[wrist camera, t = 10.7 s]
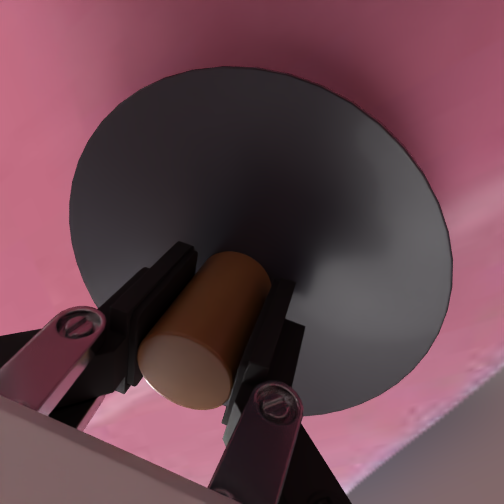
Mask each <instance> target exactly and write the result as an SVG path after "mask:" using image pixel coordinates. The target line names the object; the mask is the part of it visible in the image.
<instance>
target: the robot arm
mask: <svg viewBox="0 0 504 504" xmlns="http://www.w3.org/2000/svg"><path fill="white" fill-rule="evenodd" d="M197 258H198V252H197V251H194V246H192V245H190V244H187V243H184V242H181V241H178V242H177V243H175V244H174V245H173V246H172V247H171V248H170V249H169V250H168V251H167V252H166V253H165V254H164V255H163V256H162V257H161V258H160V259H159V260H158V261H157V262H156V263H155V264H154V265H153V266H151V267H150V268H147V267H143V268H142V269H140V270H139V271H138V272H137V273H136V274H135V275H134V276H133V277H132V278H131V279H130V280H128V281H127V282H126V283H125V284H124V285H123V286H122V287H121V288H120V289H119V290H118V291H117V292H115V293H114V294H113V295H112V296H111V297H110V298H109V299H108V300H107V301H106V302H105V303H104V304H102V305H101V306H100V307H99V308H98V309H96V308H93V307H88V306H77V307H72V308H68V309H66V310H64V311H61V312H60V313H59V314H57V315H56V316H55V317H54V318H53V319H52V320H51V321H49V322H48V323H47V324H46V325H45V326H44V327H43V328H42V329H37V330H32V331H26V332H20V333H15V334H9V335H3V336H0V504H352V503H351V502H350V500H349V499H348V497H347V495H346V494H345V492H344V491H343V489H342V488H341V486H340V484H339V483H338V481H337V480H336V478H335V476H334V475H333V473H332V472H331V470H330V469H329V467H328V465H327V464H326V462H325V461H324V459H323V457H322V456H321V454H320V453H319V451H318V449H317V448H316V446H315V445H314V443H313V442H312V440H311V438H310V437H309V435H308V434H307V432H306V430H305V429H304V427H303V426H302V424H301V421H302V418H303V411H304V408H303V404H302V400H301V398H300V397H299V395H298V393H297V392H296V391H295V390H294V389H293V388H292V384H293V380H294V376H295V371H296V367H297V362H298V358H299V354H300V349H301V345H302V340H303V336H304V332H305V326H304V325H301V324H298V323H296V322H293V321H290V320H288V319H285V317H286V314H287V311H288V308H289V304H290V301H291V298H292V295H293V292H294V289H295V285H296V282H294V281H291V280H288V279H285V278H281V280H280V281H279V280H276V279H274V281H273V284H272V286H271V288H270V291H269V293H268V295H267V298H266V300H265V303H264V305H263V307H262V310H261V312H260V314H259V317H258V319H257V322H256V324H255V326H254V329H253V331H252V333H251V336H250V338H249V341H248V343H247V345H246V348H245V350H244V353H243V355H242V358H241V361H240V364H239V367H238V370H237V374H236V377H235V380H234V383H233V387H232V390H231V393H230V397H229V400H228V403H227V406H226V410H225V413H224V416H223V420H222V424H225V425H227V427H226V430H225V433H224V436H223V441H224V443H225V446H226V449H225V451H224V453H223V455H222V457H221V459H220V462H219V464H218V466H217V468H216V470H215V472H214V475H213V477H212V479H211V481H210V483H209V485H208V487H207V488H206V487H204V486H202V485H199V484H197V483H195V482H193V481H191V480H188V479H186V478H184V477H182V476H180V475H177V474H175V473H173V472H171V471H169V470H166V469H164V468H162V467H160V466H158V465H155V464H153V463H151V462H149V461H147V460H144V459H142V458H140V457H138V456H135V455H133V454H131V453H129V452H127V451H124V450H122V449H120V448H118V447H115V446H113V445H111V444H109V443H106V442H104V441H102V440H100V439H98V438H95V437H93V436H91V435H89V434H86V433H84V432H83V431H84V429H85V427H86V426H87V424H88V423H89V421H90V420H91V418H92V417H93V415H94V414H95V412H96V411H97V409H98V408H99V406H100V405H101V403H102V402H103V400H104V398H105V395H106V394H109V393H113V392H114V391H118V392H120V393H122V394H125V393H126V391H127V390H128V389H129V387H130V386H131V385H132V386H134V387H135V386H136V385H137V384H138V383H139V382H140V380H141V379H142V377H143V375H142V373H141V371H140V369H139V366H138V361H137V352H138V348H139V345H140V343H141V342H142V340H143V339H144V338H145V336H146V335H147V334H148V333H149V331H150V330H151V329H152V328H153V326H154V325H155V324H156V323H157V321H158V320H159V319H160V318H161V316H162V315H163V314H164V313H165V311H166V310H167V309H168V308H169V306H170V305H171V304H172V303H173V301H174V300H175V299H176V298H177V296H178V295H179V294H180V293H181V291H182V290H183V289H184V288H185V286H186V285H187V284H188V283H189V281H190V280H191V279H192V278H193V276H194V275H195V269H196V263H197Z"/></svg>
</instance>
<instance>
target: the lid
mask: <svg viewBox="0 0 504 504" xmlns="http://www.w3.org/2000/svg"><path fill="white" fill-rule="evenodd" d="M69 224H70V232H71V240H72V246H73V250H74V254H75V258H76V262H77V265H78V267H79V270H80V273H81V276H82V278H83V281H84V283H85V285H86V287H87V289H88V291H89V293H90V295H91V297H92V299H93V301H94V303H95V304H96V306H97V307H98V308H99V307H100V306H101V305H102V304H104V303H105V302H106V301H107V300H108V299H109V298H110V297H111V296H112V295H113V294H114V293H115V292H117V291H118V290H119V289H120V288H121V287H122V286H123V285H124V284H125V283H126V282H127V281H128V280H130V279H131V278H132V277H133V276H134V275H135V274H136V273H137V272H138V271H139V270H140V269H142V268H143V267H147V268H150V267H151V266H153V265H154V264H155V263H156V262H157V261H158V260H159V259H160V258H161V257H162V256H163V255H164V254H165V253H166V252H167V251H168V250H169V249H170V248H171V247H172V246H173V245H174V244H175V243H177V242H178V241H181V242H184V243H187V244H190V245H192V246H194V251H197V252H198V258H197V263H196V269H195V275H194V276H193V278H192V279H191V280H190V281H189V283H188V284H187V285H186V286H185V288H184V289H183V290H182V291H181V293H180V294H179V295H178V296H177V298H176V299H175V300H174V301H173V303H172V304H171V305H170V306H169V308H168V309H167V310H166V311H165V313H164V314H163V315H162V316H161V318H160V319H159V320H158V321H157V323H156V324H155V325H154V326H153V328H152V329H151V330H150V331H149V333H148V334H147V335H146V336H145V338H144V339H143V340H142V342H141V343H140V345H139V348H138V352H137V361H138V366H139V369H140V371H141V373H142V375H143V376H144V378H145V379H146V381H147V382H148V383H149V384H150V386H151V387H152V388H153V389H154V390H156V391H157V392H158V393H159V394H160V395H162V396H163V397H165V398H166V399H168V400H170V401H171V402H173V403H176V404H178V405H180V406H183V407H187V408H190V409H197V410H208V409H214V408H217V407H219V406H221V405H224V406H227V403H228V400H229V397H230V393H231V390H232V387H233V383H234V380H235V377H236V374H237V370H238V367H239V364H240V361H241V358H242V355H243V353H244V350H245V348H246V345H247V343H248V341H249V338H250V336H251V333H252V331H253V329H254V326H255V324H256V322H257V319H258V317H259V314H260V312H261V310H262V307H263V305H264V303H265V300H266V298H267V295H268V293H269V291H270V288H271V286H272V284H273V281H274V279H276V280H279V281H280V280H281V278H285V279H288V280H291V281H294V282H296V285H295V289H294V292H293V295H292V298H291V301H290V304H289V308H288V311H287V314H286V317H285V319H288V320H290V321H293V322H296V323H298V324H301V325H304V326H305V332H304V336H303V340H302V345H301V349H300V354H299V358H298V362H297V367H296V371H295V376H294V380H293V384H292V388H293V389H294V390H295V391H296V392H297V393H298V395H299V397H300V398H301V400H302V404H303V408H304V411H303V416H312V415H322V414H327V413H332V412H336V411H341V410H344V409H347V408H350V407H353V406H356V405H359V404H362V403H364V402H366V401H368V400H370V399H373V398H375V397H377V396H379V395H381V394H382V393H384V392H385V391H387V390H388V389H390V388H391V387H393V386H394V385H396V384H397V383H399V382H400V381H401V380H402V379H403V378H404V377H405V376H406V375H408V374H409V373H410V372H411V371H412V370H413V369H414V368H415V367H416V366H417V364H418V363H419V362H420V361H421V360H422V358H423V357H424V356H425V355H426V354H427V352H428V351H429V349H430V347H431V345H432V344H433V342H434V340H435V339H436V337H437V335H438V334H439V331H440V329H441V326H442V324H443V321H444V318H445V316H446V313H447V310H448V305H449V300H450V295H451V290H452V276H453V257H452V251H451V244H450V237H449V231H448V228H447V225H446V222H445V219H444V216H443V213H442V210H441V207H440V204H439V202H438V200H437V198H436V196H435V194H434V192H433V190H432V188H431V186H430V184H429V182H428V180H427V178H426V176H425V175H424V173H423V171H422V170H421V168H420V167H419V165H418V164H417V163H416V161H415V160H414V159H413V157H412V156H411V155H410V153H409V152H408V150H407V149H406V148H405V146H404V145H403V144H402V143H401V142H400V141H399V140H398V139H397V138H396V137H395V136H394V135H393V134H392V133H391V132H390V131H389V130H388V129H387V128H386V127H385V126H384V125H383V124H382V123H381V122H380V121H379V120H377V119H376V118H375V117H373V116H372V115H371V114H369V113H368V112H366V111H365V110H364V109H362V108H361V107H360V106H358V105H357V104H356V103H354V102H353V101H351V100H349V99H347V98H346V97H344V96H342V95H340V94H338V93H336V92H334V91H333V90H331V89H329V88H327V87H325V86H323V85H321V84H318V83H315V82H312V81H309V80H307V79H304V78H301V77H298V76H296V75H293V74H289V73H284V72H279V71H274V70H269V69H264V68H259V67H236V66H221V67H212V68H204V69H195V70H190V71H186V72H183V73H179V74H176V75H172V76H169V77H165V78H163V79H161V80H159V81H157V82H154V83H152V84H150V85H148V86H146V87H144V88H142V89H140V90H138V91H137V92H136V93H134V94H133V95H131V96H130V97H128V98H127V99H126V100H124V101H123V102H121V103H120V104H119V105H118V106H117V107H116V108H115V109H114V110H113V111H112V112H111V113H110V114H109V115H108V116H107V117H106V118H105V119H104V120H103V121H102V122H101V123H100V125H99V126H98V128H97V129H96V130H95V132H94V133H93V135H92V136H91V138H90V139H89V140H88V142H87V144H86V146H85V148H84V151H83V153H82V155H81V157H80V159H79V161H78V164H77V168H76V171H75V174H74V178H73V181H72V188H71V195H70V202H69Z"/></svg>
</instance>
